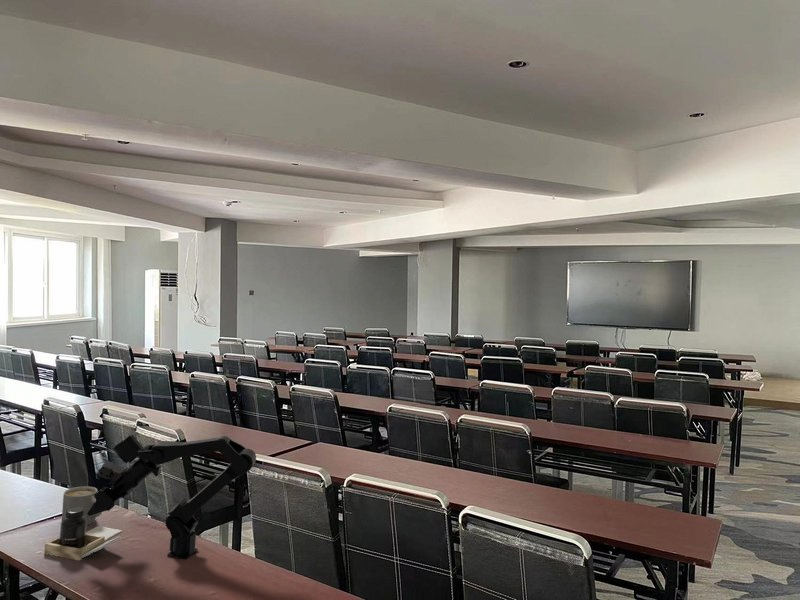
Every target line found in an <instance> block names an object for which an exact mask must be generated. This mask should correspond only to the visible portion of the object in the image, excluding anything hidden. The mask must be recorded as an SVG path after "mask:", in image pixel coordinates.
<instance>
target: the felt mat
mask: <svg viewBox="0 0 800 600" xmlns="http://www.w3.org/2000/svg"><path fill="white" fill-rule="evenodd" d="M122 532H123V530H121V529H116V528H109V527H106V526H100V525H98V526H96V527H94V528H91V529H90V530H88V531H86V533H87V534H92V535H98V536H103V537H105V541H104V542H107V541H109V539H111V538H114V537H115V536H117V535H118V534H121V533H122Z"/></svg>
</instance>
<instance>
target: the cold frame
mask: <svg viewBox="0 0 800 600" xmlns="http://www.w3.org/2000/svg"><path fill="white" fill-rule="evenodd" d="M59 541H60V536H58V537H55V538H53V539H52V540H49V541H48V542H45V543H44V553H45V554H44V553H43V554H44V555H48V554H50V555H49V556H53V555H55V556H54V557H58V556H60V557H59V558H63V557H65V558H64V559H68V558H69V560H73V559H74V561H78V560H79V561H81V560H83V559H85V558H86V556H85V558H84V557H83V559H82V558H81V556H82V555H84V554H85V553H87V552H89V551H91V550H93V549H94V548H96V547H98V546H100V545H102V544H104V543H105V542H106V541H105V537H103V536H98V535H92V534H87V533H86V538H85V546H84V547H82V548H80V549H78V548H73V547H68V546H63V545H59ZM86 544H87V545H86ZM88 556H91V554H89V555H87V557H88Z"/></svg>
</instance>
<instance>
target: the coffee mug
mask: <svg viewBox="0 0 800 600" xmlns="http://www.w3.org/2000/svg"><path fill="white" fill-rule="evenodd" d="M97 492H98V488H96V487H94V486H77V487H75V486H74V487H71V488H68V489H66V490H65V491H63V498H62V510H61V513H62V514H61V522H62V521H63V520H64V519H65V518H66V517H65V515H66V510H67V509H69V508H73V507H81V508H84V516H83V517H85V518H86V520H87V526H88V524H89V525H91V524H93V523H94V522H95V521H96V520H95V519H96V518H97V517H100V516H101V514H102V512H100V513H97V514H94V515H91V516H89V515H88V514H87V513H88V511H89V510H90V509H91V507H92V506H93V505H94V503H95V502H96V499H95V496H94V495H95V494H96V493H97ZM92 522H93V523H92Z"/></svg>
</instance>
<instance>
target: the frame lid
mask: <svg viewBox="0 0 800 600" xmlns="http://www.w3.org/2000/svg"><path fill="white" fill-rule="evenodd" d="M121 538H123V536H122V535H119V536H117V537H115V538H112V539H111V540H107V541H105V542H104V544H102V545H100V546H98V547H96V548H94V549H93V550H91V551H89V552H87V553H85V554H84V555H82V556H81V558H83V557H85V556H87V555H88V556H90V555H92V554H94V553H95V552H98V551H100V550H102V549H104V548H105V547H107V546H109V545H111V544H113V543H114V542H116V541H118V540H120V539H121ZM93 552H94V553H93ZM91 553H92V554H91ZM89 554H90V555H89ZM88 556H87V557H88ZM85 558H86V557H85ZM83 559H84V558H83Z"/></svg>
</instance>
